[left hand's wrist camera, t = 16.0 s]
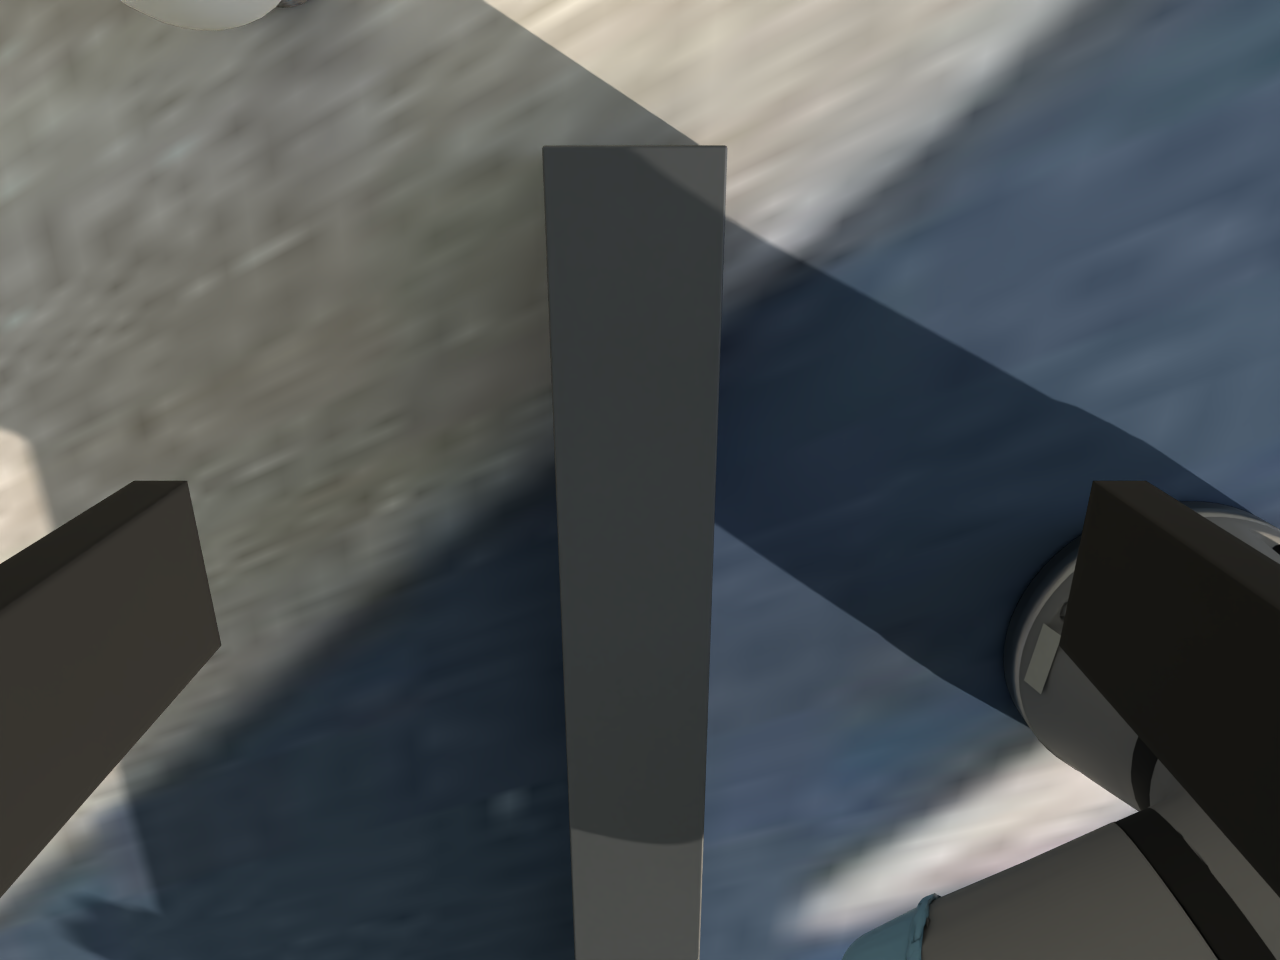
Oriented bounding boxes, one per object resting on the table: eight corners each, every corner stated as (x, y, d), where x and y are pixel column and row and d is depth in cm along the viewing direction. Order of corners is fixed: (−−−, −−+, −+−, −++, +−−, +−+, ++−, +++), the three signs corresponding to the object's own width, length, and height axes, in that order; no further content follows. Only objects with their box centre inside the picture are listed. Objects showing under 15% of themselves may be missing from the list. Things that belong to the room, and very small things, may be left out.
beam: (562, 149, 34) (542, 145, 26) (707, 149, 34) (727, 145, 26) (595, 1172, 58) (589, 1323, 50) (680, 1172, 58) (686, 1322, 50)
